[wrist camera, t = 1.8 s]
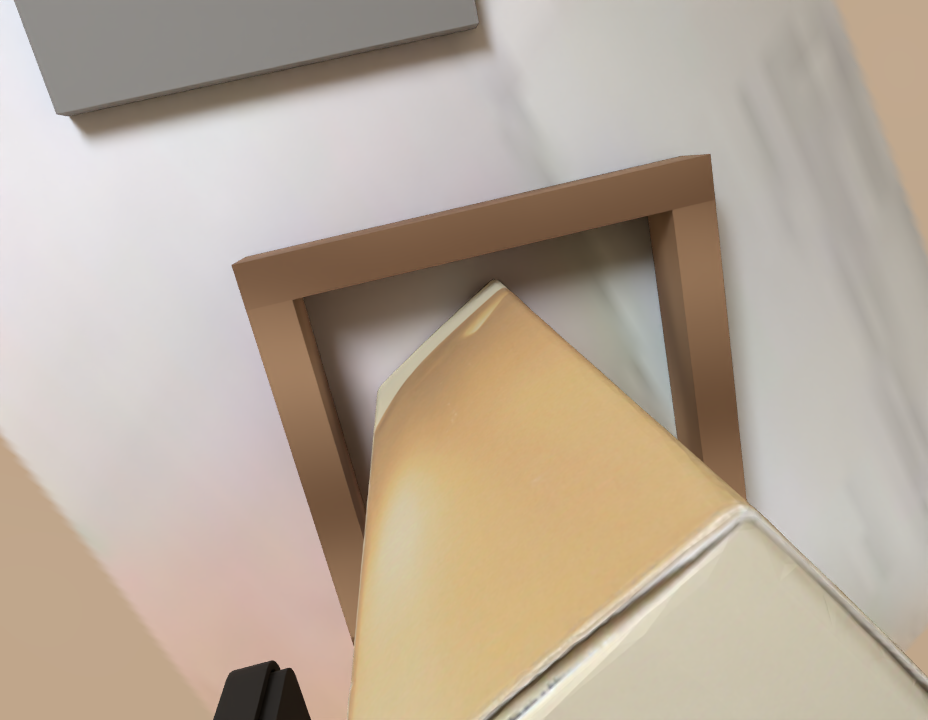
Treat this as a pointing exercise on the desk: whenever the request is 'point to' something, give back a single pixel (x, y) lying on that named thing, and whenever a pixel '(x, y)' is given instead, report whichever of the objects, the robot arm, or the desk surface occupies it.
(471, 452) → the skincare box
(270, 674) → the robot arm
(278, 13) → the rubber mat
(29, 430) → the desk surface
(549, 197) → the square wooden frame
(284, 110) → the desk surface
